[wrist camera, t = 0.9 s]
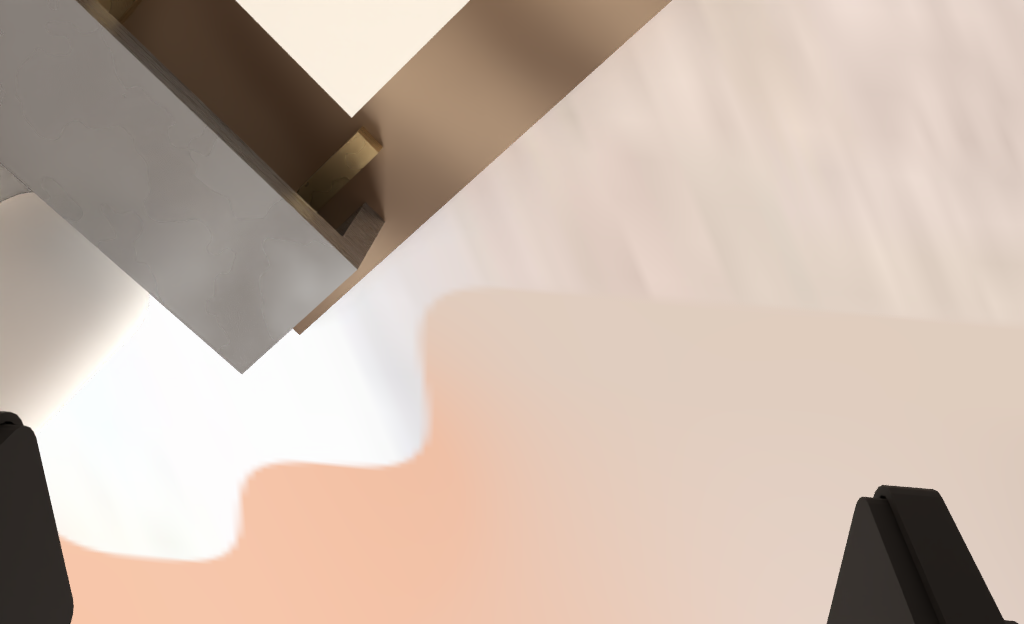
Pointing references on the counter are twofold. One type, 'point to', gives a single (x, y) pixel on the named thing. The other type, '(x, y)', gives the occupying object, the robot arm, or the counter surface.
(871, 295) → the counter surface
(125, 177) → the overhang dock
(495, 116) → the board
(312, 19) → the cream bevelled block
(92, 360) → the cylindrical container
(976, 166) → the counter surface
